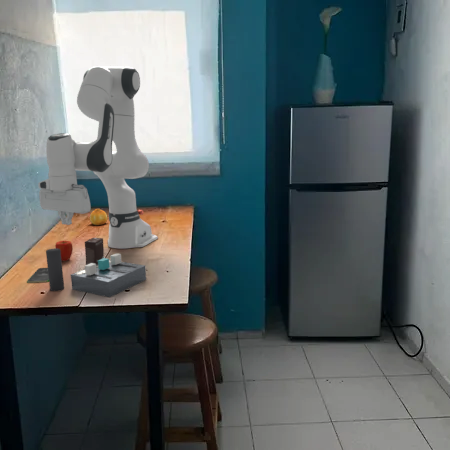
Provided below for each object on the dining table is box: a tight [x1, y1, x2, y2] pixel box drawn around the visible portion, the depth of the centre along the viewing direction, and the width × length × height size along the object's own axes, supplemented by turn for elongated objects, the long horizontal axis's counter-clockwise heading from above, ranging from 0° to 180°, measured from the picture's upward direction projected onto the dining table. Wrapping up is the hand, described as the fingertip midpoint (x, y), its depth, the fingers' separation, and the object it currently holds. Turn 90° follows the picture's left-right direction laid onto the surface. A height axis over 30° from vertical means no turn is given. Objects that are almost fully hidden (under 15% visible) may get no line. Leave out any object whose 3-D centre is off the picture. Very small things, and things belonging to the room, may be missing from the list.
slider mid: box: [98, 257, 110, 270], centre depth 176 cm, size 3×2×3 cm, turn 150°
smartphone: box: [26, 267, 49, 284], centre depth 187 cm, size 8×1×15 cm
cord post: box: [45, 247, 65, 292], centre depth 172 cm, size 4×4×13 cm
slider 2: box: [109, 252, 122, 265], centre depth 181 cm, size 3×2×3 cm, turn 150°
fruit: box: [89, 208, 108, 226], centre depth 262 cm, size 8×8×8 cm
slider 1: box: [84, 263, 97, 275], centre depth 171 cm, size 3×2×3 cm, turn 150°
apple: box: [55, 240, 73, 262], centre depth 204 cm, size 6×6×8 cm
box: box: [84, 237, 105, 265], centre depth 188 cm, size 6×4×12 cm
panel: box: [70, 259, 147, 298], centre depth 176 cm, size 18×16×5 cm
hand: (66, 224), depth 180 cm, fingers closed
